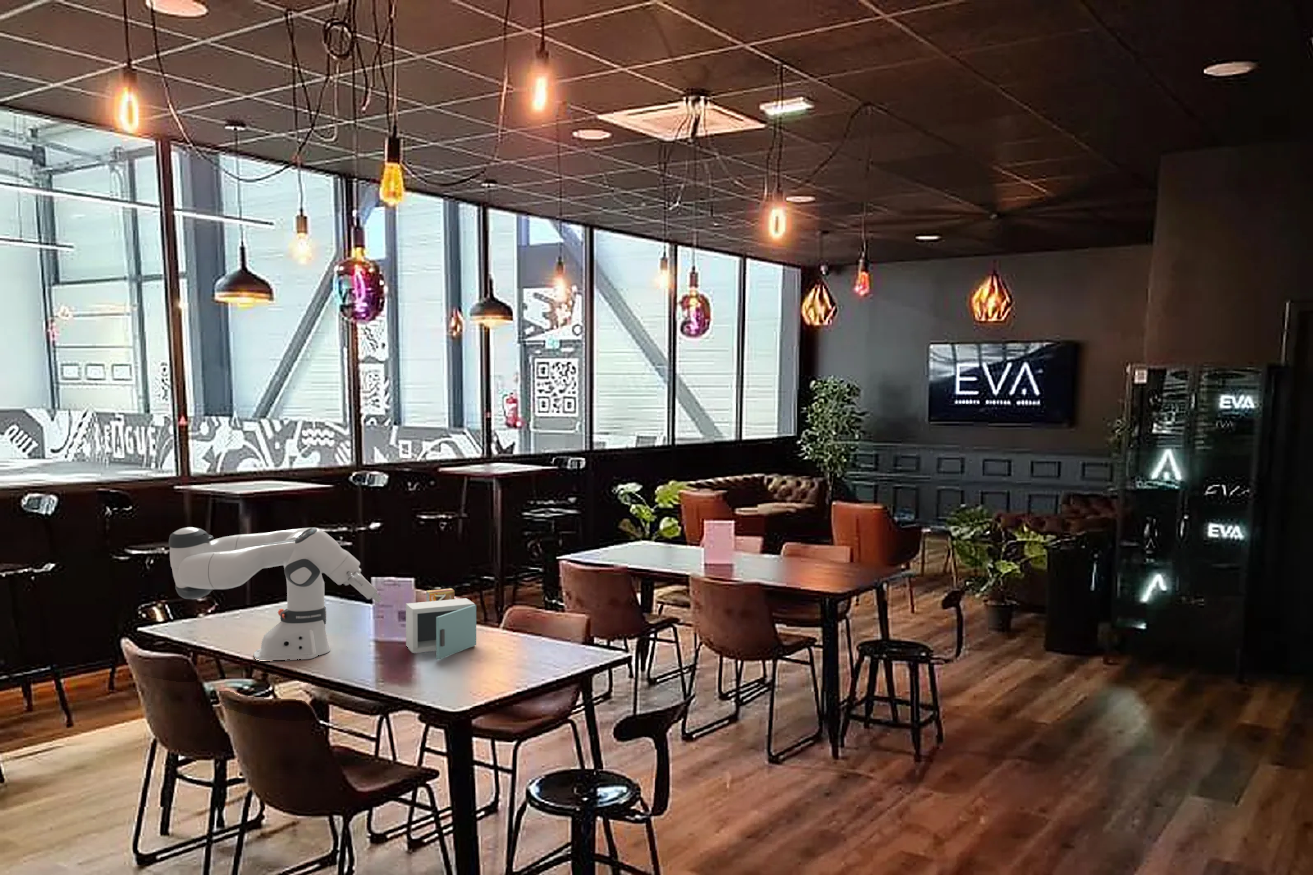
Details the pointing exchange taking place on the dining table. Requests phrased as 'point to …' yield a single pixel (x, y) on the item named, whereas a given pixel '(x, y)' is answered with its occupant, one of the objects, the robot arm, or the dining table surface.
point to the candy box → (440, 595)
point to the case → (427, 622)
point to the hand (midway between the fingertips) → (379, 600)
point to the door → (455, 631)
